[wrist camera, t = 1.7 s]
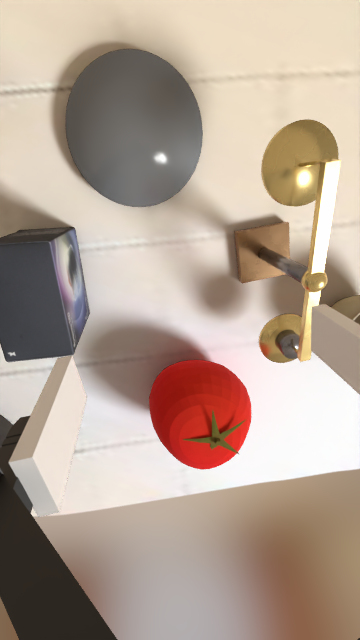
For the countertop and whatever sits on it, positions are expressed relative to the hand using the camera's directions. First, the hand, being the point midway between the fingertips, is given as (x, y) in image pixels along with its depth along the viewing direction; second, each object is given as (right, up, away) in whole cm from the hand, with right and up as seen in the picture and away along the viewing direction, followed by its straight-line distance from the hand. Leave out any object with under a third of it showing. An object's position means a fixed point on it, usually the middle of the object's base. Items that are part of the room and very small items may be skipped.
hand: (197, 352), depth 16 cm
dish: (-5, +20, +14) cm, 25 cm away
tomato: (+1, -7, +27) cm, 28 cm away
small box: (-15, +7, +19) cm, 25 cm away
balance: (+9, +10, +20) cm, 24 cm away
